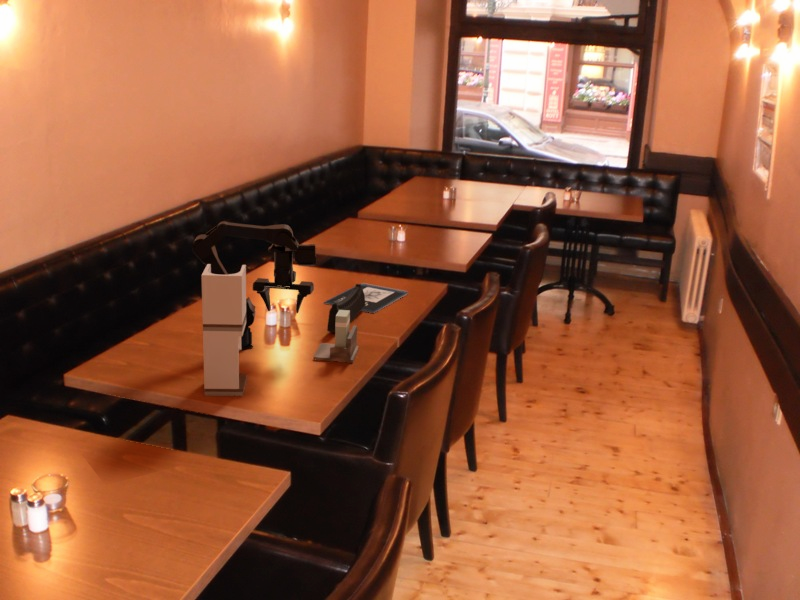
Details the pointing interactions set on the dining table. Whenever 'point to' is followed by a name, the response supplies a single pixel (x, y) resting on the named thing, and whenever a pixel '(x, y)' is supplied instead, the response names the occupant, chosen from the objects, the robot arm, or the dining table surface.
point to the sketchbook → (372, 297)
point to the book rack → (339, 350)
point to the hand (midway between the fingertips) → (283, 311)
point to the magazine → (347, 306)
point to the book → (342, 328)
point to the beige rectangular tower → (223, 331)
